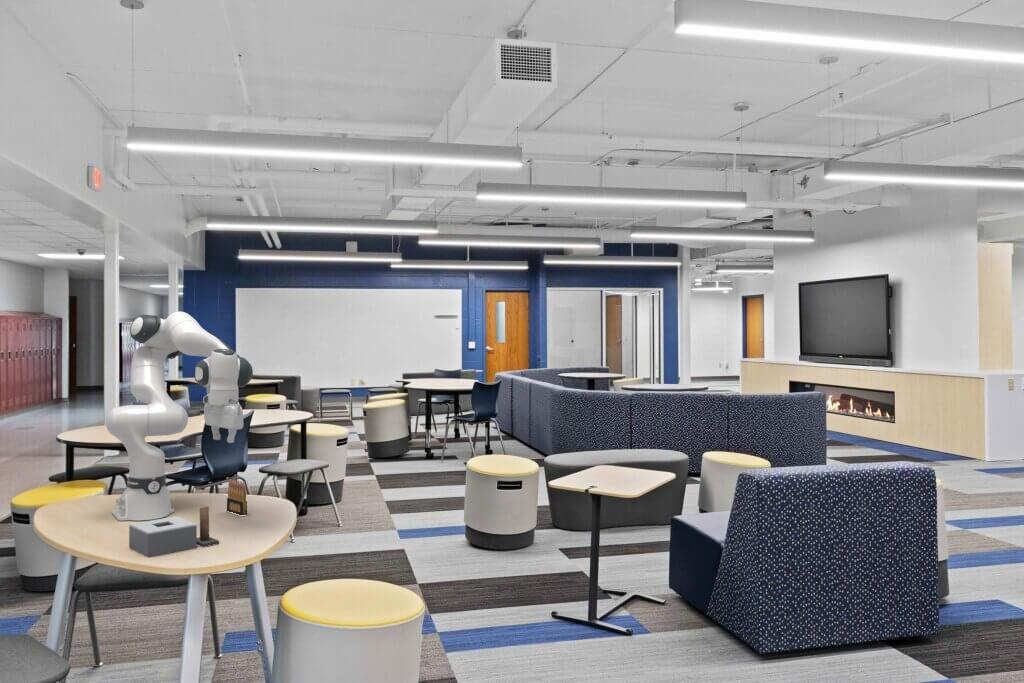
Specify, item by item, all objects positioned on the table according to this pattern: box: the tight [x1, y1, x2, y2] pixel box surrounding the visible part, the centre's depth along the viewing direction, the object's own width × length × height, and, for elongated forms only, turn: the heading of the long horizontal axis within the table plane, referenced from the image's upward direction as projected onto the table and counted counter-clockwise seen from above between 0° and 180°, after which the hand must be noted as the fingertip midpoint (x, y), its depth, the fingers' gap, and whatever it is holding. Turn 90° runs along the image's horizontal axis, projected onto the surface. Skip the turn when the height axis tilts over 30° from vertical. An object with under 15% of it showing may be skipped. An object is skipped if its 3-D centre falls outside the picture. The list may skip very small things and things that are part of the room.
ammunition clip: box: [226, 478, 248, 516], centre depth 267 cm, size 11×2×12 cm, turn 50°
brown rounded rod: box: [199, 505, 210, 541], centre depth 229 cm, size 3×3×10 cm
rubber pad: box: [196, 536, 220, 548], centre depth 229 cm, size 8×5×1 cm, turn 47°
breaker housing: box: [128, 516, 198, 558], centre depth 224 cm, size 14×14×7 cm
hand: (223, 441), depth 244 cm, fingers open, 8 cm apart
